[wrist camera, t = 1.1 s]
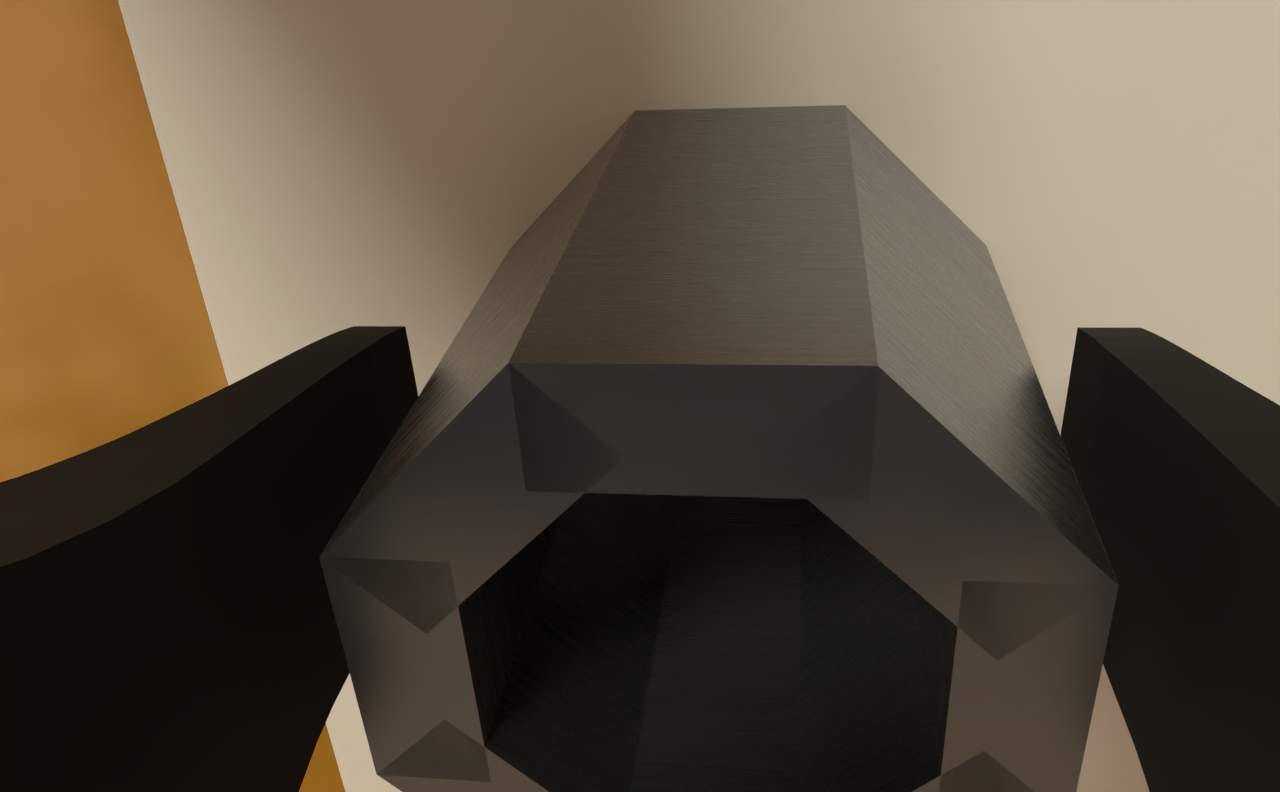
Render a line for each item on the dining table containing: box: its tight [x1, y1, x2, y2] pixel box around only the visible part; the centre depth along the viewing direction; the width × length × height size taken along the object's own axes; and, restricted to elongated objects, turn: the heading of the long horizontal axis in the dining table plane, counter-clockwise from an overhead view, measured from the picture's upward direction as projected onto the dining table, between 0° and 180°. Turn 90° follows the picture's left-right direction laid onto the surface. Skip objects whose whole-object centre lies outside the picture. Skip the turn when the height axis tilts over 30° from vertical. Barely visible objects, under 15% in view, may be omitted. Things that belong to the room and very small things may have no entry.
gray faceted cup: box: [319, 105, 1119, 792], centre depth 11 cm, size 6×6×6 cm
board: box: [118, 0, 1280, 792], centre depth 16 cm, size 16×22×1 cm
